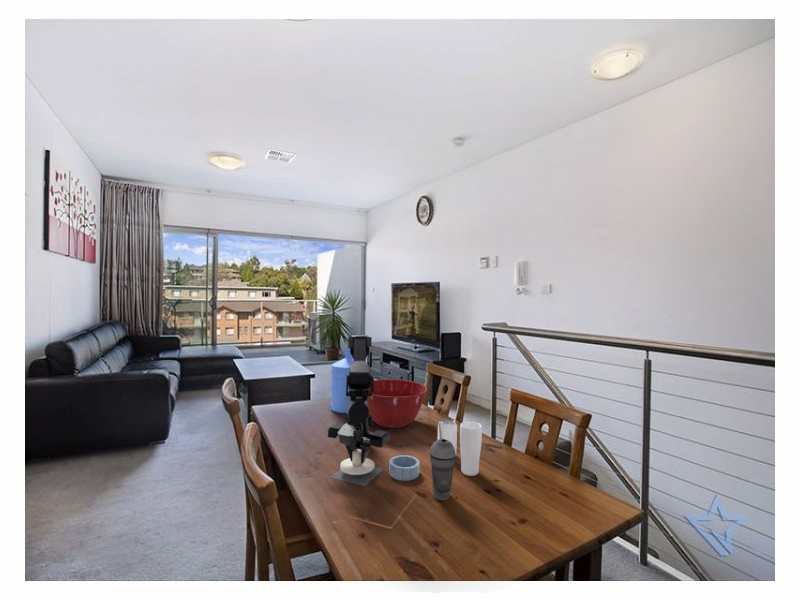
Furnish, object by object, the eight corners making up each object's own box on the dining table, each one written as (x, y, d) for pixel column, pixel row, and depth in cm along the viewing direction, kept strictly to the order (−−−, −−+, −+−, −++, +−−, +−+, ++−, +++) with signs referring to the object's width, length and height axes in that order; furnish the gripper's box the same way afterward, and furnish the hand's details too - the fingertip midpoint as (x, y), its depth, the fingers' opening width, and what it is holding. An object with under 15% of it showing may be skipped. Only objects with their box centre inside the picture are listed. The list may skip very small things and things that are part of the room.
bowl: (384, 477, 117) (384, 464, 117) (396, 465, 125) (396, 453, 125) (412, 484, 113) (413, 470, 113) (423, 471, 122) (423, 458, 122)
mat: (329, 478, 116) (329, 477, 116) (350, 462, 127) (350, 461, 127) (365, 487, 111) (365, 486, 111) (383, 469, 122) (383, 468, 122)
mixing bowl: (437, 420, 170) (438, 385, 170) (403, 440, 146) (404, 400, 146) (384, 408, 185) (385, 376, 185) (345, 425, 161) (346, 388, 161)
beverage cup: (447, 506, 102) (450, 430, 102) (423, 497, 106) (425, 425, 106) (459, 494, 109) (461, 422, 108) (435, 486, 112) (437, 417, 112)
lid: (333, 470, 116) (333, 454, 116) (350, 457, 125) (351, 442, 125) (364, 477, 112) (365, 461, 112) (380, 463, 121) (380, 448, 121)
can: (455, 460, 130) (456, 425, 130) (436, 458, 131) (437, 423, 131) (456, 452, 136) (457, 418, 136) (438, 450, 137) (439, 417, 137)
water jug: (354, 415, 173) (356, 353, 173) (324, 411, 179) (325, 350, 178) (369, 406, 188) (370, 348, 187) (340, 402, 193) (341, 346, 193)
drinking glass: (482, 469, 124) (483, 423, 123) (479, 479, 117) (480, 430, 117) (460, 466, 126) (462, 420, 125) (456, 475, 119) (458, 427, 119)
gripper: (317, 414, 114) (316, 467, 115) (374, 424, 107) (372, 480, 108) (337, 404, 125) (336, 452, 125) (390, 413, 117) (389, 464, 118)
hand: (357, 462), depth 119 cm, fingers closed on lid, 3 cm apart
